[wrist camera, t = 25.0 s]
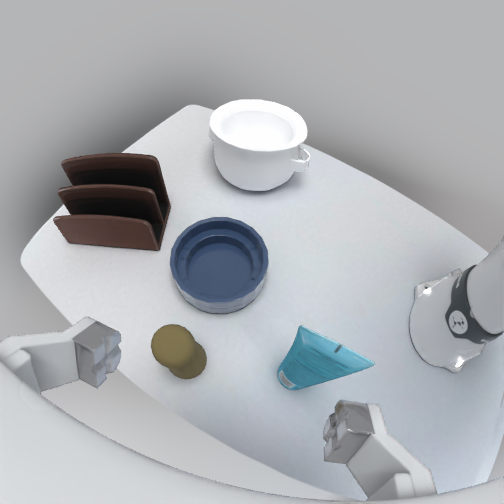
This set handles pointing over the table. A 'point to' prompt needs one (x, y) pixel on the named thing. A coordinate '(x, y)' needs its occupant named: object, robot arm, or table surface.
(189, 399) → the table surface
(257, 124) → the pot
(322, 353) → the tube
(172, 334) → the cork
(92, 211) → the letter holder
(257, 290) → the bowl
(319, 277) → the table surface
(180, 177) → the table surface
